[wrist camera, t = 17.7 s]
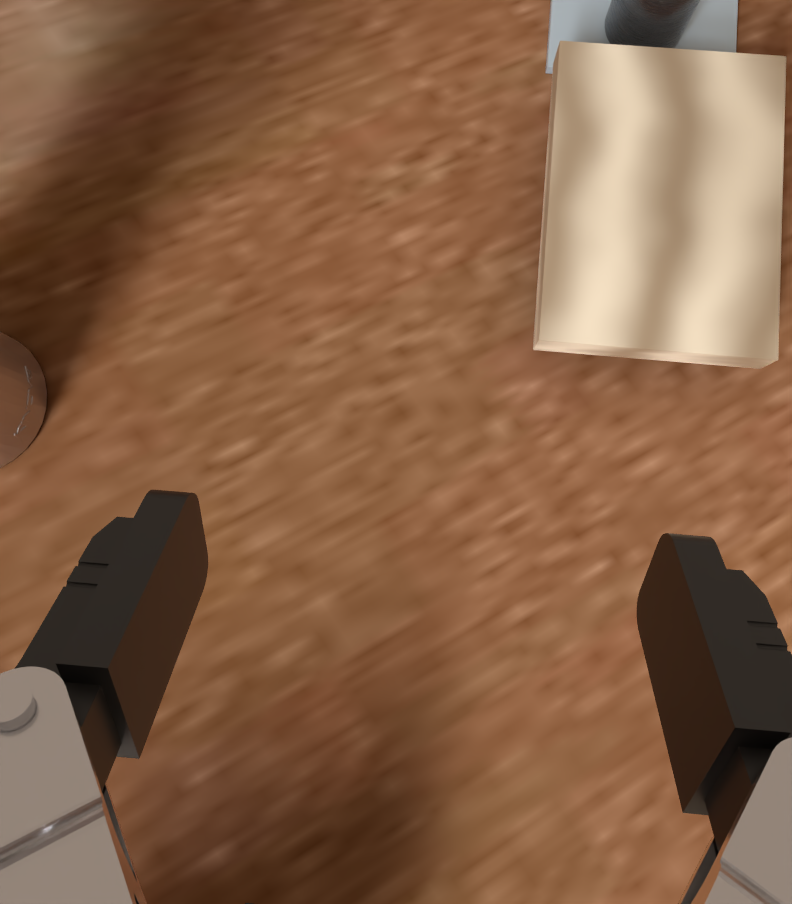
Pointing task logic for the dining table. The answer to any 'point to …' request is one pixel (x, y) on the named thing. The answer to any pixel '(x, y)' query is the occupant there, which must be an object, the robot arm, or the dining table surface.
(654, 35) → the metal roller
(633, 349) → the birch slab
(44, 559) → the dining table surface
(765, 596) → the robot arm
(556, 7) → the slate-grey pad
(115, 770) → the dining table surface
